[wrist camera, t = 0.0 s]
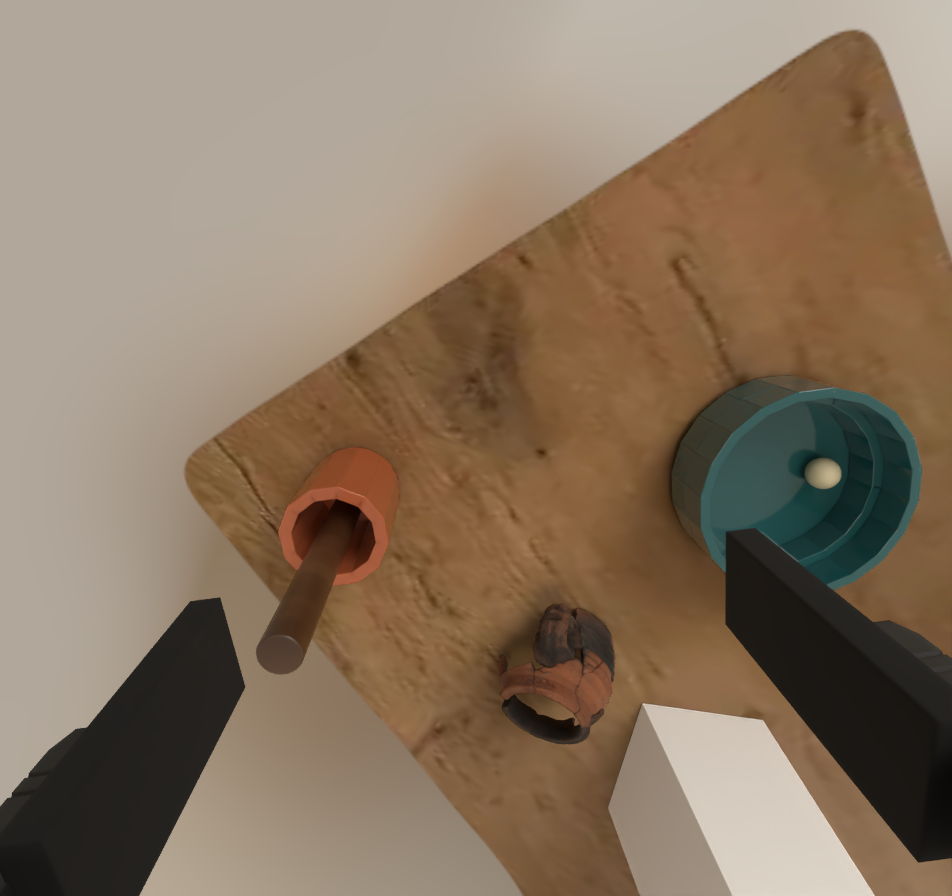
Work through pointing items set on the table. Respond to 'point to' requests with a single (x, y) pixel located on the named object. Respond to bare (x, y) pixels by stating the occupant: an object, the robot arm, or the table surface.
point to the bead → (822, 473)
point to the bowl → (799, 475)
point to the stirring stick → (307, 593)
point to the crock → (354, 482)
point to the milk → (722, 813)
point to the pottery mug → (562, 675)
